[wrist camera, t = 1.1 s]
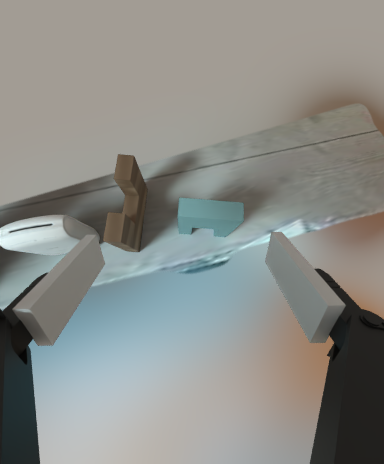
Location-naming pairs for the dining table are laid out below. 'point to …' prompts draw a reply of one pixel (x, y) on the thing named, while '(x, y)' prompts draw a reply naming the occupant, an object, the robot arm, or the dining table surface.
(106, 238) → the walnut slotted board
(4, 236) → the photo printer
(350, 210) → the dining table surface
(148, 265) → the dining table surface
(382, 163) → the dining table surface
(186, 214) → the teal slotted plate
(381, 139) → the dining table surface
